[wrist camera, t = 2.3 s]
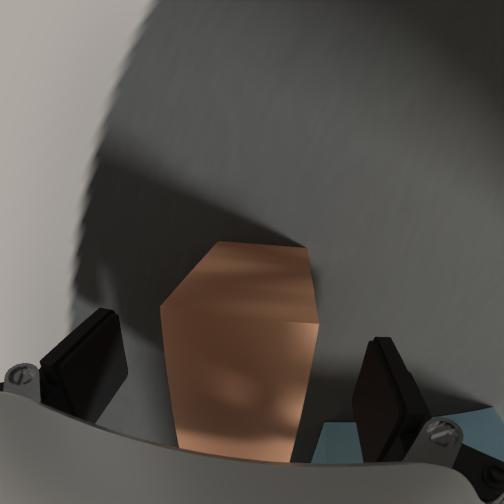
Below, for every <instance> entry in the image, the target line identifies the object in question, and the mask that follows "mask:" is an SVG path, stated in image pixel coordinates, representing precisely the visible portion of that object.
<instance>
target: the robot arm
mask: <svg viewBox="0 0 504 504" xmlns="http://www.w3.org/2000/svg"><path fill="white" fill-rule="evenodd" d="M40 364H41V368H40V369H39V370H38V368H37V367H36V366H35V365H33V364H28V363H22V364H18V365H15V366H13V367H12V368H10V369H9V370H8V372H7V373H6V375H5V379H4V382H2V383H0V504H504V462H503V461H501V460H499V459H496V458H494V457H492V456H489V455H487V454H485V453H483V452H480V451H478V450H476V449H474V448H472V447H470V446H467V445H465V444H463V443H462V442H463V437H464V435H463V431H462V429H461V428H460V426H459V425H458V424H457V423H456V422H454V421H452V420H450V419H447V418H442V417H437V418H432V417H431V415H430V412H429V410H428V408H427V406H426V404H425V401H424V399H423V397H422V395H421V393H420V391H419V389H418V387H417V385H416V383H415V381H414V379H413V377H412V375H411V373H410V372H408V370H407V368H406V366H405V364H404V362H403V360H402V358H401V356H400V354H399V353H398V351H397V349H396V347H395V345H394V343H393V341H392V339H391V338H390V337H375V338H374V340H373V341H369V343H368V346H367V350H366V353H365V357H364V360H363V364H362V367H361V371H360V374H359V377H358V380H357V384H356V387H355V390H354V393H353V397H352V407H353V411H354V416H355V421H356V426H357V431H358V436H359V442H360V447H361V452H362V458H363V463H343V464H322V463H289V462H273V461H261V460H252V459H243V458H235V457H228V456H221V455H215V454H209V453H203V452H197V451H192V450H187V449H182V448H178V447H173V446H169V445H165V444H160V443H156V442H153V441H149V440H145V439H141V438H138V437H134V436H131V435H127V434H124V433H121V432H117V431H114V430H111V429H108V428H105V427H102V426H99V425H96V424H95V423H96V421H97V420H98V418H99V417H100V416H101V414H102V413H103V411H104V410H105V408H106V407H107V405H108V404H109V402H110V401H111V399H112V398H113V397H114V395H115V394H116V392H117V391H118V389H119V388H120V386H121V385H122V384H123V382H124V381H125V379H126V378H127V375H128V366H127V361H126V356H125V351H124V346H123V340H122V334H121V328H120V322H119V317H118V315H117V314H115V312H114V311H113V310H110V309H105V308H99V309H98V310H96V311H95V312H94V313H93V314H92V315H91V316H89V317H88V318H87V319H86V320H85V321H84V322H83V323H81V324H80V325H79V326H78V327H77V328H76V329H75V330H73V331H72V332H71V333H70V334H69V335H68V336H67V337H66V338H64V339H63V340H62V341H61V342H60V343H59V344H58V345H57V346H56V347H55V348H53V349H52V350H51V351H50V352H49V353H48V354H47V355H46V356H45V357H44V358H42V359H41V360H40Z"/></svg>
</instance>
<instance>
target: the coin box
mask: <svg viewBox="0 0 504 504" xmlns="http://www.w3.org/2000/svg"><path fill="white" fill-rule="evenodd" d="M438 417H442V418H447V419H450V420H452V421H454V422H456V423H457V424H458V425H459V426H460V428H461V429H462V431H463V435H464V437H463V442H462V443H463V444H465V445H467V446H470V447H472V448H474V449H476V450H478V451H480V452H483V453H485V454H487V455H489V456H492V457H494V458H496V459H499V460H501V461H503V462H504V424H503V422H502V420H501V419H500V417H499V415H498V414H497V412H496V410H495V409H494V407H491V408H486V409H481V410H476V411H471V412H465V413H459V414H453V415H446V416H438ZM432 418H437V417H432ZM311 463H322V464H343V463H363V458H362V452H361V447H360V442H359V436H358V431H357V426H356V422H324V425H323V428H322V431H321V434H320V437H319V440H318V443H317V446H316V449H315V452H314V455H313V458H312V461H311Z"/></svg>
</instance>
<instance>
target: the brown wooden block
mask: <svg viewBox="0 0 504 504" xmlns="http://www.w3.org/2000/svg"><path fill="white" fill-rule="evenodd" d="M160 313H161V324H162V335H163V344H164V353H165V362H166V369H167V377H168V384H169V391H170V398H171V405H172V411H173V417H174V423H175V428H176V434H177V439H178V444H179V448H182V449H187V450H192V451H197V452H203V453H209V454H215V455H221V456H228V457H235V458H243V459H252V460H261V461H273V462H290V458H291V454H292V450H293V446H294V442H295V438H296V434H297V430H298V426H299V422H300V417H301V413H302V409H303V404H304V400H305V395H306V390H307V386H308V381H309V376H310V371H311V366H312V360H313V355H314V350H315V344H316V339H317V333H318V327H319V320H318V313H317V306H316V300H315V293H314V287H313V281H312V275H311V268H310V263H309V257H308V251H307V248H300V247H289V246H277V245H264V244H252V243H240V242H227V241H218V242H217V243H216V244H215V245H214V246H213V247H212V249H211V250H210V251H209V252H208V253H207V254H206V255H205V256H204V257H203V258H202V260H201V261H200V262H199V263H198V264H197V265H196V266H195V267H194V269H193V270H192V271H191V272H190V273H189V274H188V275H187V276H186V277H185V279H184V280H183V281H182V282H181V283H180V284H179V285H178V287H177V288H176V289H175V290H174V291H173V292H172V293H171V294H170V296H169V297H168V298H167V299H166V300H165V301H164V302H163V304H162V305H161V306H160Z"/></svg>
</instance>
